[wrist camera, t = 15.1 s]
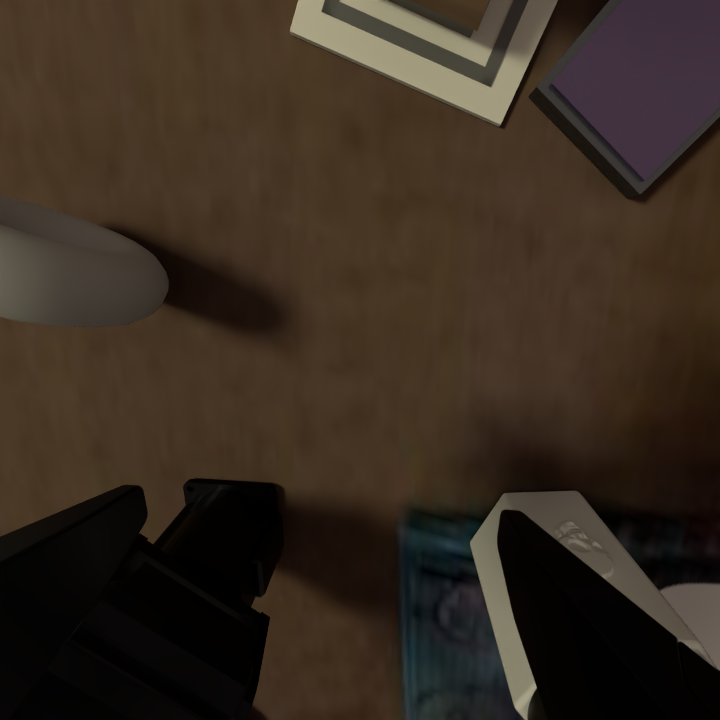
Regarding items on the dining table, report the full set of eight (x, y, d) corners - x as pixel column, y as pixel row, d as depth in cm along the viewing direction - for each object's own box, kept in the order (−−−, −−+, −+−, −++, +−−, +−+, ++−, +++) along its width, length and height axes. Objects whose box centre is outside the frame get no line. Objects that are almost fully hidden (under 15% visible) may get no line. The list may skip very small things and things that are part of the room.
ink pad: (626, 198, 17) (643, 193, 16) (528, 96, 17) (538, 84, 15) (759, 66, 16) (789, 51, 14) (655, -55, 15) (677, -82, 14)
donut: (212, 266, 20) (50, 271, 11) (197, 319, 21) (36, 368, 12) (51, 194, 20) (-263, 133, 10) (43, 252, 21) (-251, 245, 11)
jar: (614, 484, 22) (862, 735, 10) (603, 586, 24) (799, 888, 12) (467, 489, 23) (543, 722, 11) (470, 586, 25) (536, 865, 13)
